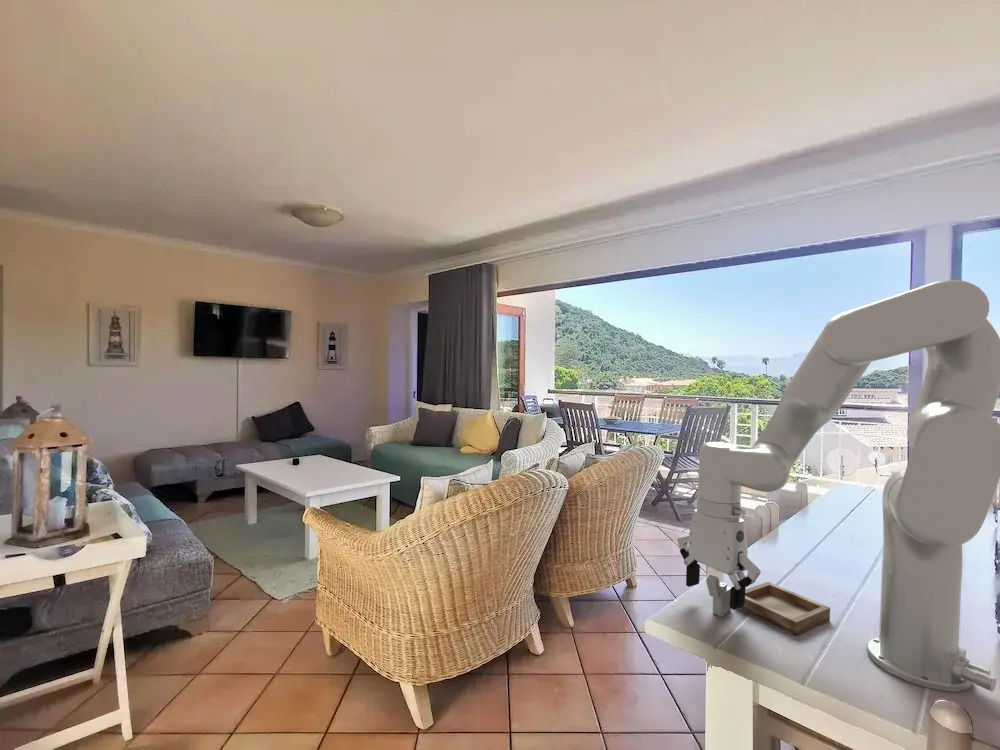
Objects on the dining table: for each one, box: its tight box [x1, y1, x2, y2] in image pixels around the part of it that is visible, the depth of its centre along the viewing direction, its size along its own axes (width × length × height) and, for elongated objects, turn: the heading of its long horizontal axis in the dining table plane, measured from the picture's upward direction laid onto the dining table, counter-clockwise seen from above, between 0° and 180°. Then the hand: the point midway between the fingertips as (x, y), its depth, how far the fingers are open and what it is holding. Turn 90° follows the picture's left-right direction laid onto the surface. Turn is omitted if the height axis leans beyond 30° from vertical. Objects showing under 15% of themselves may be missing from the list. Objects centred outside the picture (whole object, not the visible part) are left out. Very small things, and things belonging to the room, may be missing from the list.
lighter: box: [705, 574, 732, 617], centre depth 93 cm, size 7×2×8 cm, turn 131°
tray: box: [738, 581, 831, 637], centre depth 93 cm, size 12×11×2 cm
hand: (713, 595), depth 94 cm, fingers open, 9 cm apart
